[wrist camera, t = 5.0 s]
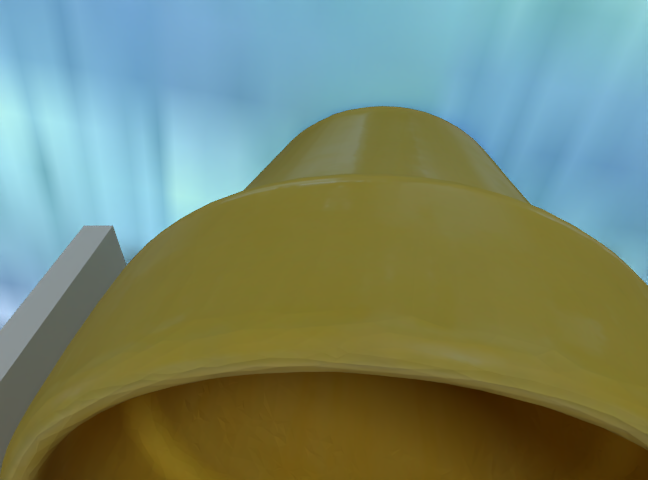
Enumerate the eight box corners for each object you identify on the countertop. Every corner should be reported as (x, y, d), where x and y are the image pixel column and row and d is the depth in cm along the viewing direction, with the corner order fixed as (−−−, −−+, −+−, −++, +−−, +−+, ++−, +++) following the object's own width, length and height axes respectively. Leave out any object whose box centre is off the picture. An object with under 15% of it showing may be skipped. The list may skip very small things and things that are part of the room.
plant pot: (265, 365, 20) (182, 720, 12) (130, 87, 14) (-208, 409, 6) (578, 326, 17) (741, 741, 9) (566, -28, 12) (958, 253, 4)
